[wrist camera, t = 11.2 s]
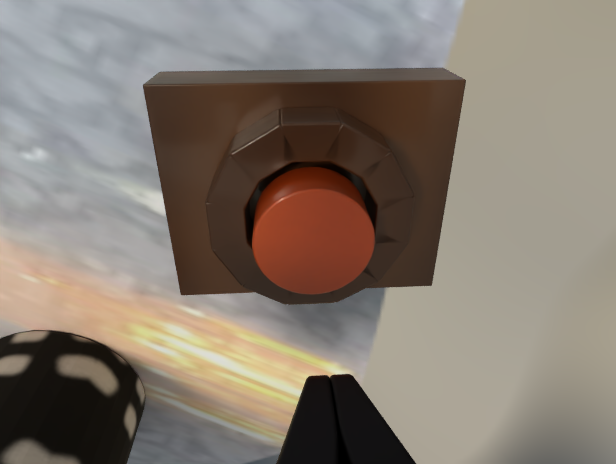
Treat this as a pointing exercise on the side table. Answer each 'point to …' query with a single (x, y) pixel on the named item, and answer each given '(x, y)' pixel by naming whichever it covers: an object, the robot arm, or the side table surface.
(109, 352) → the spotted black cylinder
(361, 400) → the robot arm
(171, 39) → the side table surface
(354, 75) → the button block
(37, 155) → the side table surface
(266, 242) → the button
